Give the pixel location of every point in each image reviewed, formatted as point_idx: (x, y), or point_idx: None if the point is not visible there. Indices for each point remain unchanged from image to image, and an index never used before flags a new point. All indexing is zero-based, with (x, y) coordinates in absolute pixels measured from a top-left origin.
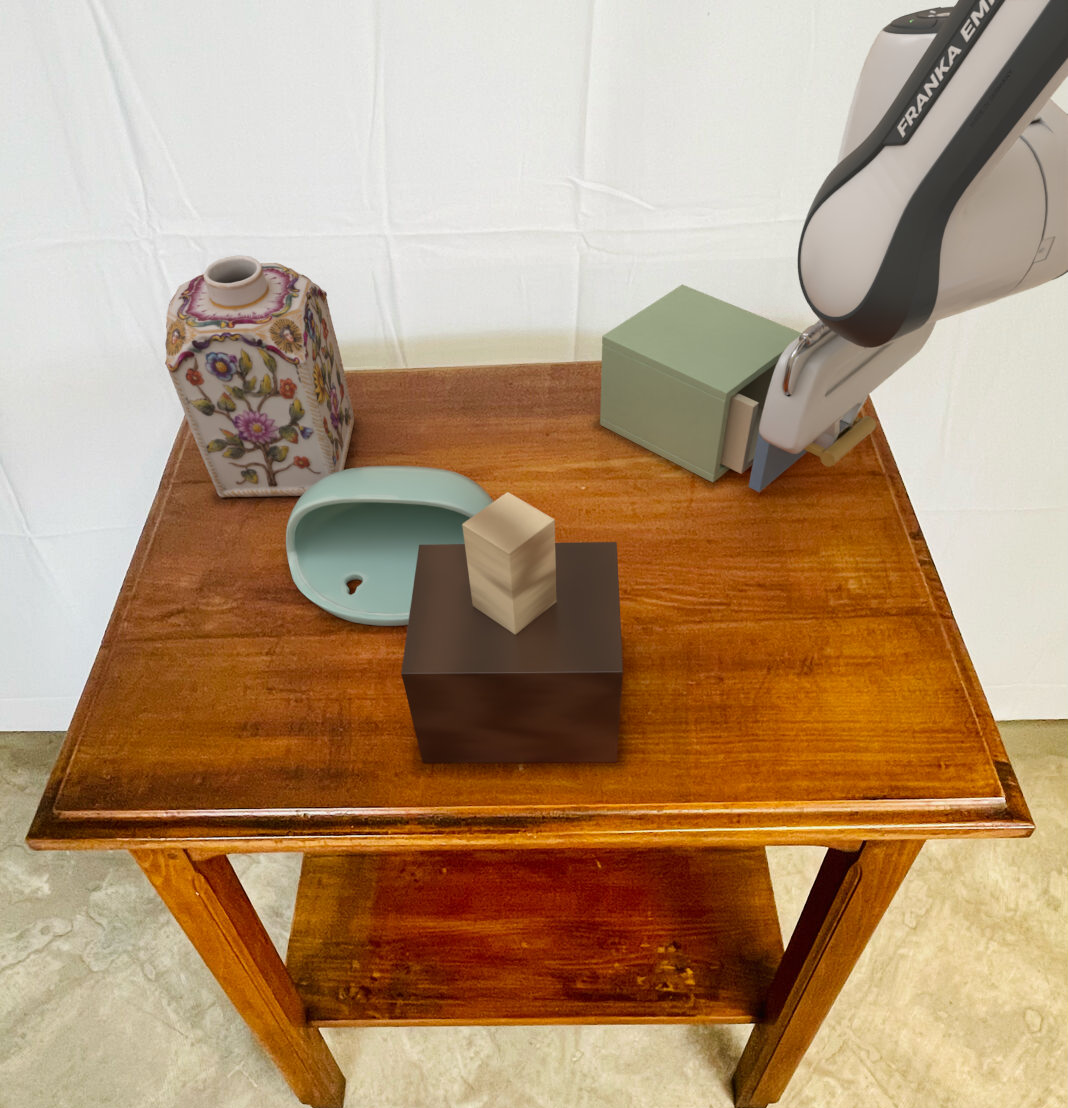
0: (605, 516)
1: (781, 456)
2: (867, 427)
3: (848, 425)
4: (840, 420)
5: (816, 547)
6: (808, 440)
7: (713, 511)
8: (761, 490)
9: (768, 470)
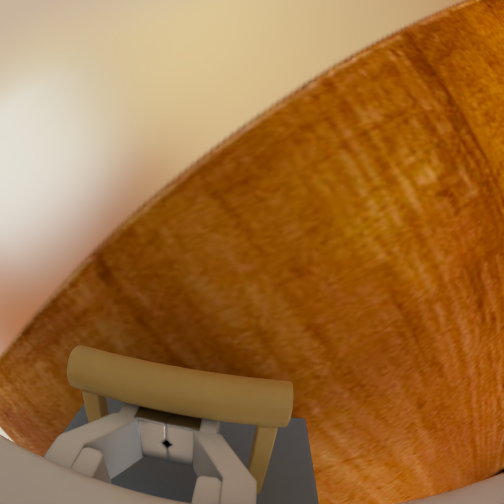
0: (409, 488)
1: (247, 447)
2: (105, 371)
3: (145, 420)
4: (141, 438)
5: (372, 274)
6: (501, 494)
7: (357, 434)
8: (297, 418)
9: (292, 444)
